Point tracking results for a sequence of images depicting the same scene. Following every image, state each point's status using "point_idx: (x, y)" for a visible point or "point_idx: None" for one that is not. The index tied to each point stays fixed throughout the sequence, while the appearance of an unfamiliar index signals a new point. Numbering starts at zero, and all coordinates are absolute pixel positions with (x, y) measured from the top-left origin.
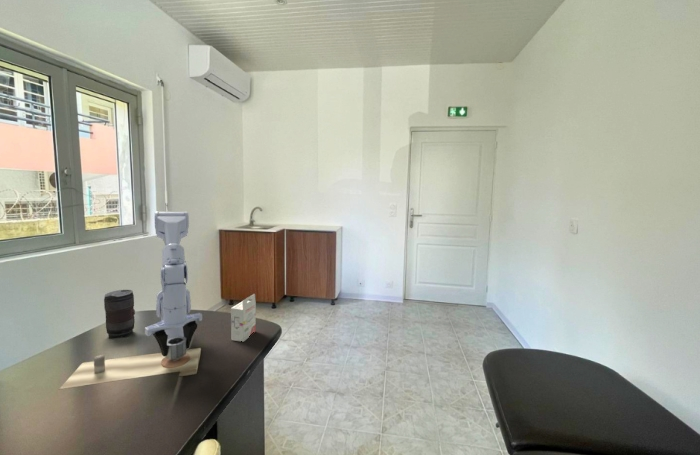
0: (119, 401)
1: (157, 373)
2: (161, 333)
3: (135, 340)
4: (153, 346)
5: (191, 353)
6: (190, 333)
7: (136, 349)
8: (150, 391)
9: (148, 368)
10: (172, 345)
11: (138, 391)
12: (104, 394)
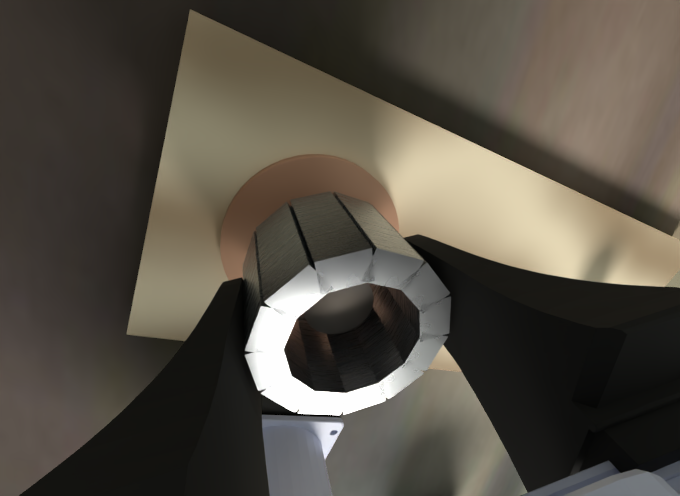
0: (617, 23)
1: (440, 142)
2: (642, 402)
3: (393, 483)
4: (353, 434)
5: (202, 286)
6: (190, 387)
7: (409, 429)
8: (495, 5)
9: (454, 232)
10: (413, 258)
11: (531, 61)
12: (613, 145)
